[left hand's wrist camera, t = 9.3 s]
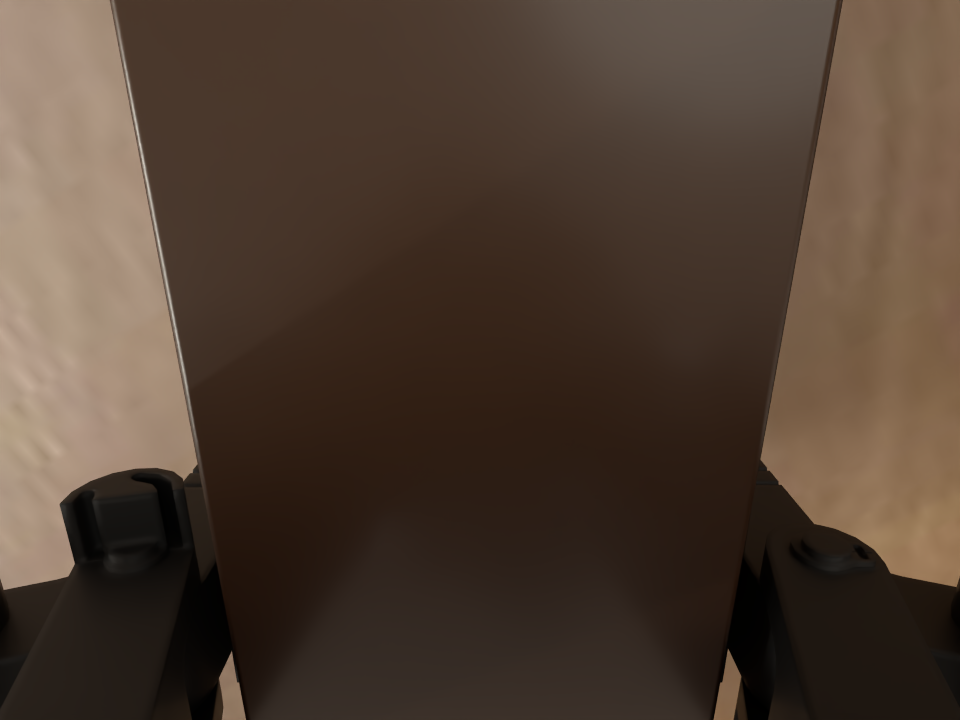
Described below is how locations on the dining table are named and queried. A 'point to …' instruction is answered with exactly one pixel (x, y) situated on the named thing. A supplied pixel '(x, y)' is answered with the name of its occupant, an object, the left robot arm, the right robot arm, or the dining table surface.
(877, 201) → the dining table surface
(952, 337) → the dining table surface
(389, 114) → the beam
